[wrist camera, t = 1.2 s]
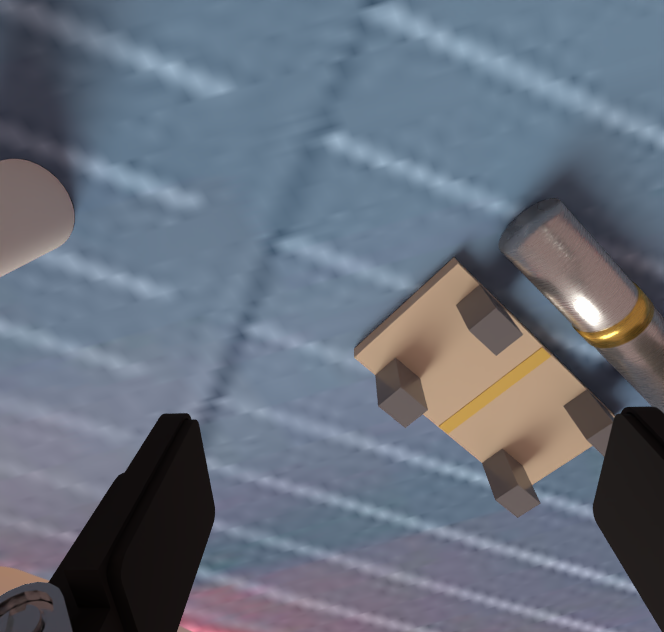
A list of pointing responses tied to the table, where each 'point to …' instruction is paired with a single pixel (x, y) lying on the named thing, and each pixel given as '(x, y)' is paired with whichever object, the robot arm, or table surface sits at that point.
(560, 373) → the plate
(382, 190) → the table surface
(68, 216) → the cylindrical container
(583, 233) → the tube
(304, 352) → the table surface
